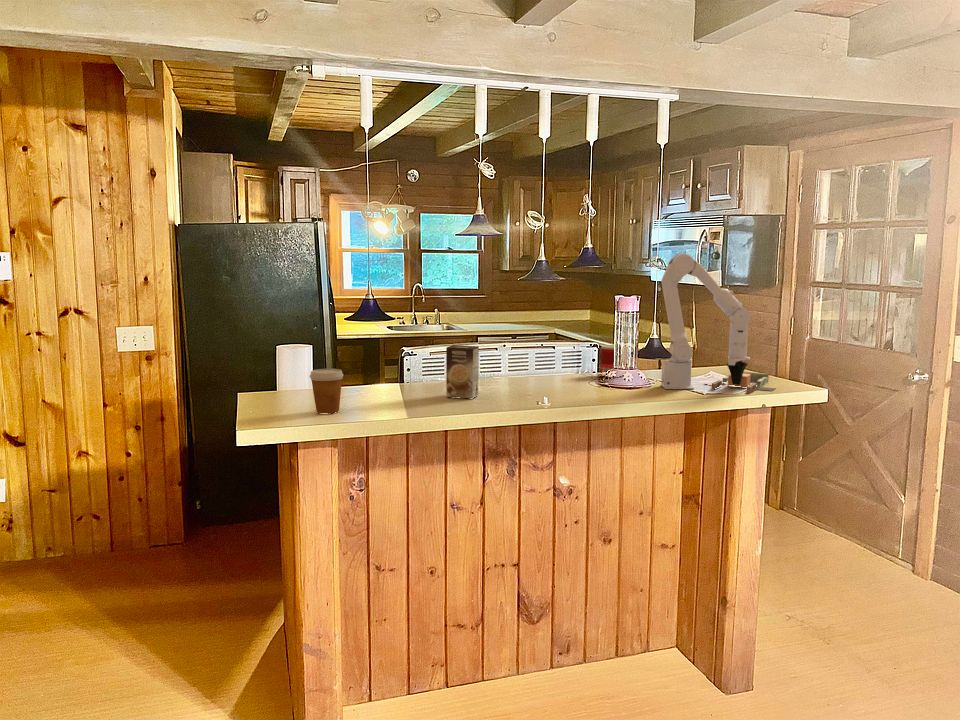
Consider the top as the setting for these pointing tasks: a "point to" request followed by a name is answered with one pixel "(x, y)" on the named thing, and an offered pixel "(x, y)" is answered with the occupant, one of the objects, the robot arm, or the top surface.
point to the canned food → (607, 357)
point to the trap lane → (758, 377)
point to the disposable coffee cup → (327, 389)
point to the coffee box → (462, 371)
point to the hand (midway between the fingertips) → (736, 384)
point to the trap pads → (765, 389)
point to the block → (744, 381)
